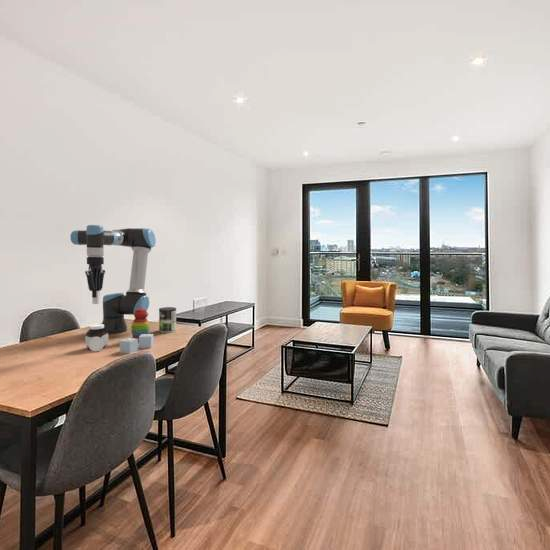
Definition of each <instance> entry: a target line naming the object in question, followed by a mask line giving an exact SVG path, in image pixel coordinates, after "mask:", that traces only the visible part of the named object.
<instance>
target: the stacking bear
mask: <svg viewBox="0 0 550 550" xmlns="http://www.w3.org/2000/svg"><path fill="white" fill-rule="evenodd" d="M133 316H134V319H133V321H132V323H131V328H130V330H131V334H132V338H134V339H138V343H139V336H140V335H141V334H150V324H149V321H148V316H149V312H148V311H146V310H145V309H142V308H140V309H137V310H135V312H134V315H133Z"/></svg>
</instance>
